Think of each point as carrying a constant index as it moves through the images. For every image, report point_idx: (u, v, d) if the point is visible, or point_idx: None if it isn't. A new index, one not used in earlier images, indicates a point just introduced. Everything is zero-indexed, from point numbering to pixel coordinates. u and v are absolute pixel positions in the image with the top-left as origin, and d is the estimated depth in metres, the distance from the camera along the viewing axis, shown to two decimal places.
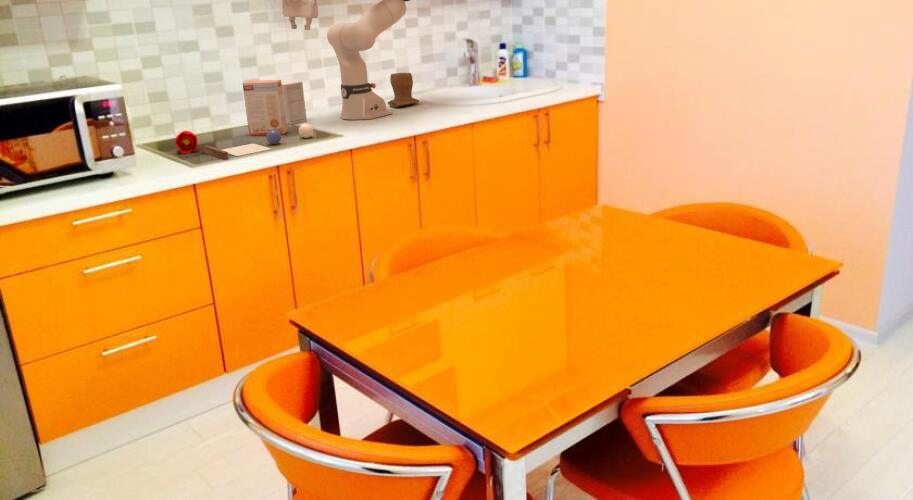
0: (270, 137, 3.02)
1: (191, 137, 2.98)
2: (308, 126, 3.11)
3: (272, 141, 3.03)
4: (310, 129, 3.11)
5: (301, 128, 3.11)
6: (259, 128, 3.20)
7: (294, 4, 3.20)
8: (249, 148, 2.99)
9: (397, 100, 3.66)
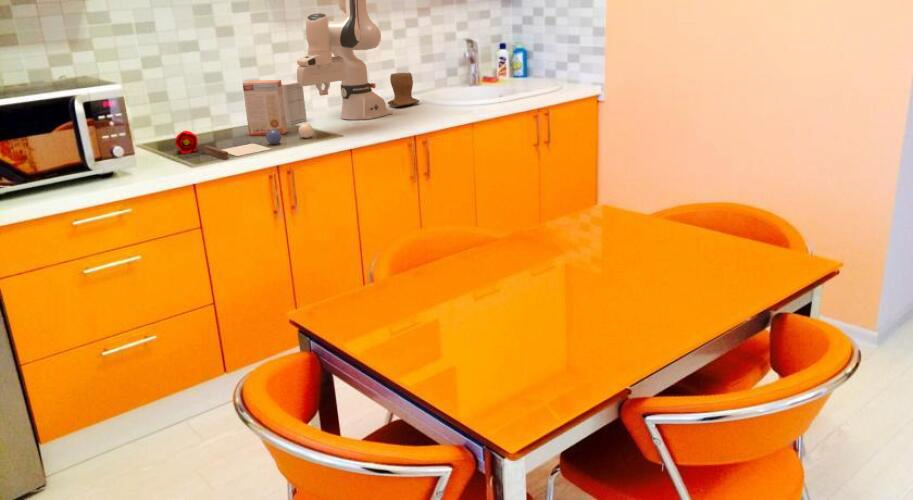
0: (270, 137, 3.02)
1: (191, 137, 2.98)
2: (308, 126, 3.11)
3: (272, 141, 3.03)
4: (310, 129, 3.11)
5: (301, 128, 3.11)
6: (259, 128, 3.20)
7: (320, 71, 3.09)
8: (249, 148, 2.99)
9: (397, 100, 3.66)
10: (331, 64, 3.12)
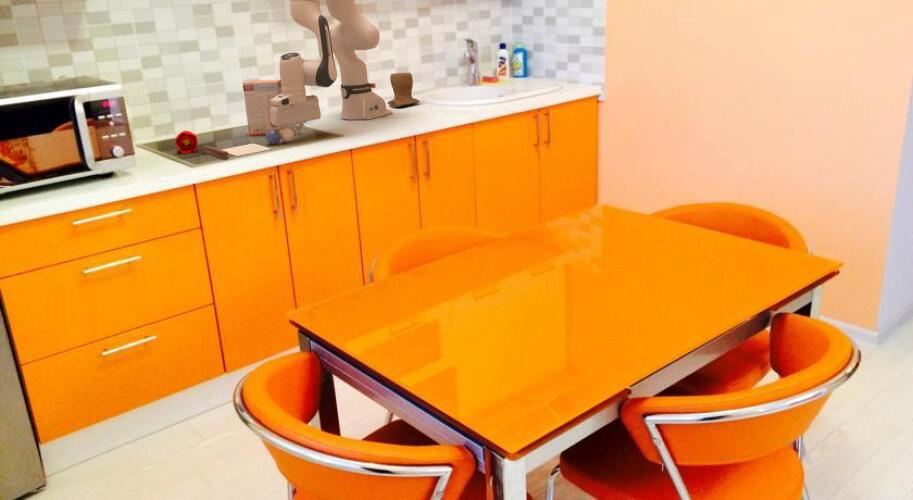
0: (269, 138, 3.02)
1: (191, 137, 2.98)
2: (288, 140, 3.06)
3: (272, 141, 3.02)
4: (288, 137, 3.06)
5: None
6: (259, 128, 3.20)
7: (294, 110, 3.05)
8: (249, 148, 2.99)
9: (397, 100, 3.66)
10: (305, 103, 3.08)
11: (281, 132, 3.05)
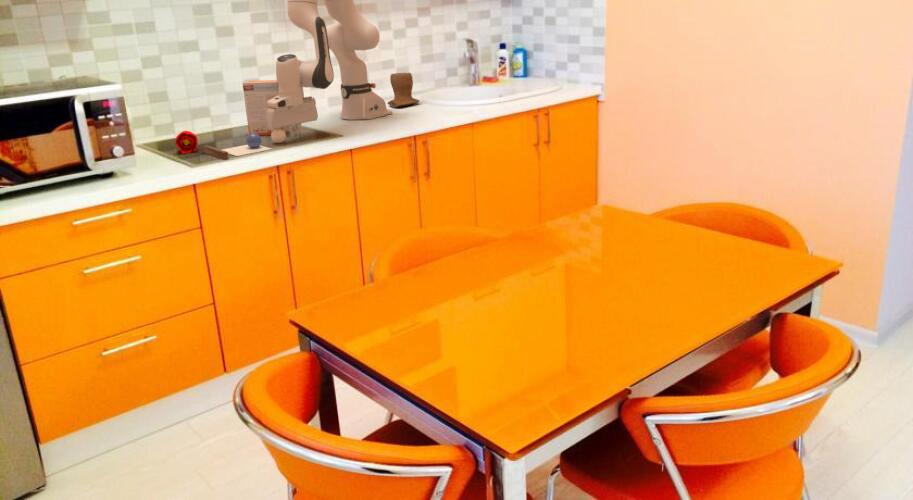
0: None
1: (191, 137, 2.98)
2: (284, 138, 3.05)
3: (260, 138, 2.99)
4: (282, 137, 3.04)
5: None
6: (259, 128, 3.20)
7: (290, 112, 3.05)
8: (249, 148, 2.99)
9: (397, 100, 3.66)
10: (302, 105, 3.07)
11: (274, 140, 3.05)
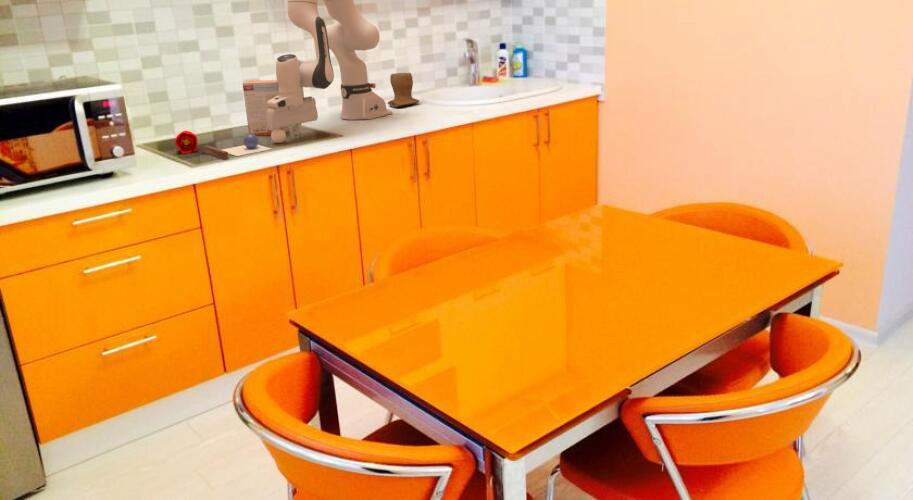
0: (258, 140, 2.99)
1: (191, 137, 2.98)
2: (284, 138, 3.05)
3: (256, 137, 2.98)
4: (282, 137, 3.04)
5: None
6: (259, 128, 3.20)
7: (290, 112, 3.05)
8: None
9: (397, 100, 3.66)
10: (302, 105, 3.07)
11: (274, 140, 3.05)
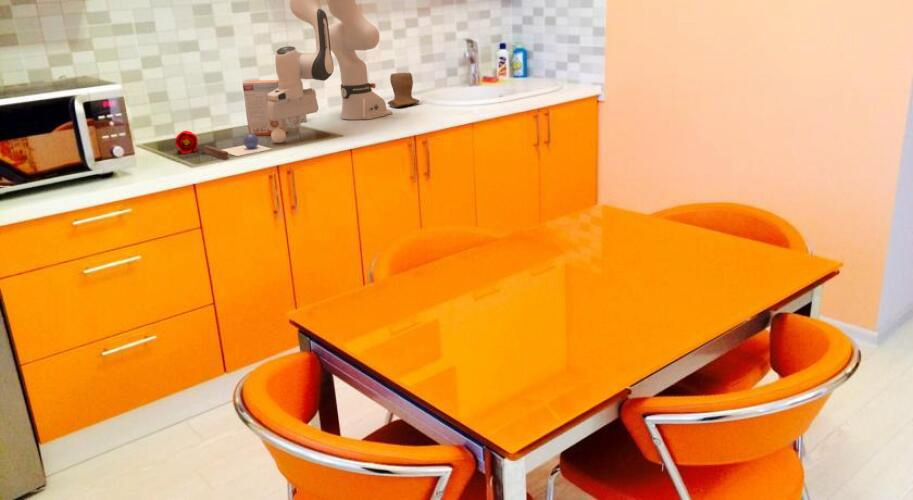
0: (258, 140, 2.99)
1: (191, 137, 2.98)
2: (284, 138, 3.05)
3: (256, 137, 2.98)
4: (282, 137, 3.04)
5: None
6: (259, 128, 3.20)
7: (291, 105, 3.05)
8: None
9: (397, 100, 3.66)
10: (302, 97, 3.07)
11: (274, 140, 3.05)
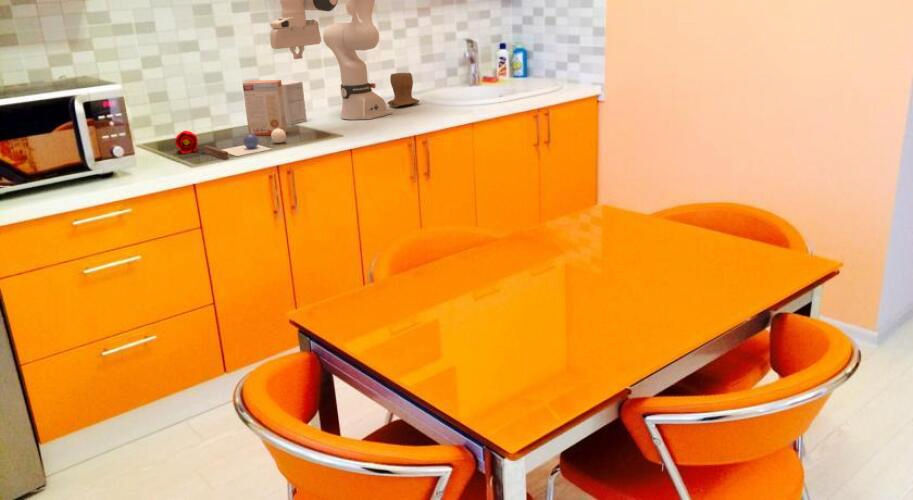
0: (258, 140, 2.99)
1: (191, 137, 2.98)
2: (284, 138, 3.05)
3: (256, 137, 2.98)
4: (282, 137, 3.04)
5: None
6: (259, 128, 3.20)
7: (294, 34, 3.06)
8: None
9: (397, 100, 3.66)
10: (305, 27, 3.08)
11: (274, 140, 3.05)
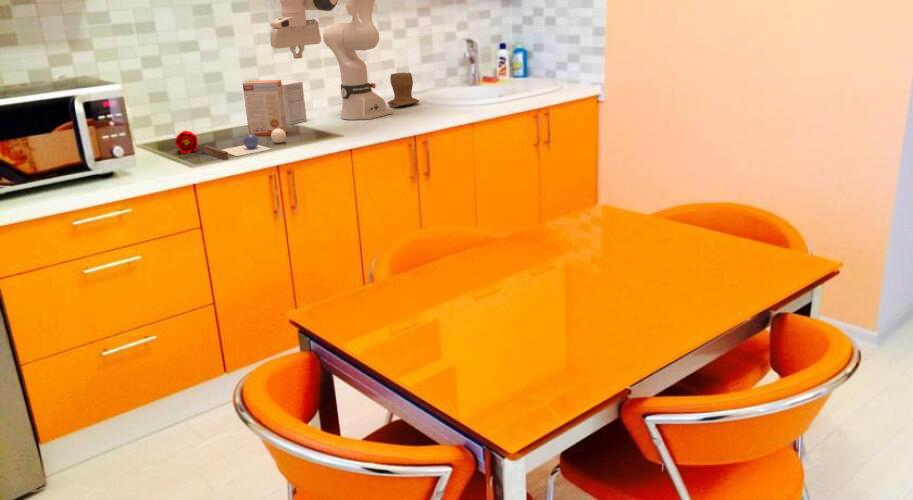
0: (258, 140, 2.99)
1: (191, 137, 2.98)
2: (284, 138, 3.05)
3: (256, 137, 2.98)
4: (282, 137, 3.04)
5: None
6: (259, 128, 3.20)
7: (294, 33, 3.06)
8: None
9: (397, 100, 3.66)
10: (305, 27, 3.08)
11: (274, 140, 3.05)
